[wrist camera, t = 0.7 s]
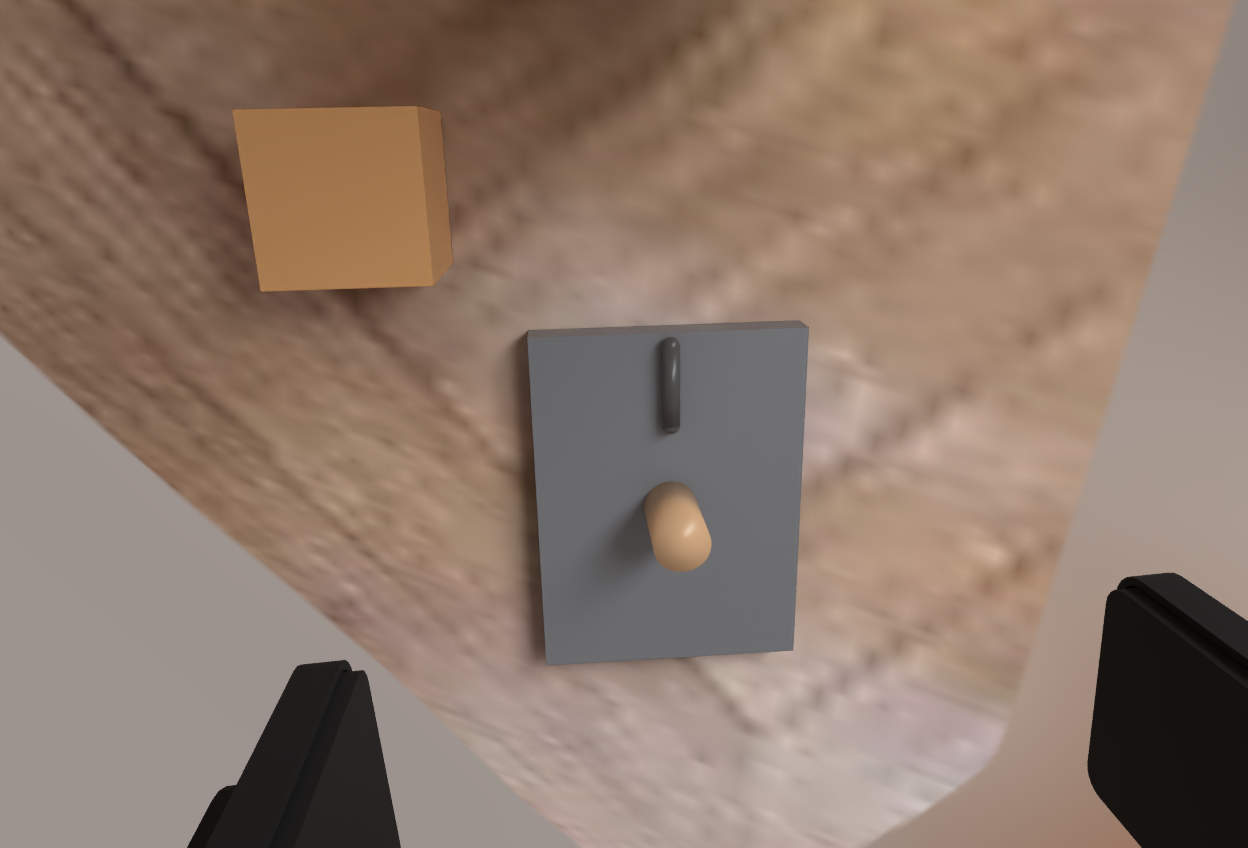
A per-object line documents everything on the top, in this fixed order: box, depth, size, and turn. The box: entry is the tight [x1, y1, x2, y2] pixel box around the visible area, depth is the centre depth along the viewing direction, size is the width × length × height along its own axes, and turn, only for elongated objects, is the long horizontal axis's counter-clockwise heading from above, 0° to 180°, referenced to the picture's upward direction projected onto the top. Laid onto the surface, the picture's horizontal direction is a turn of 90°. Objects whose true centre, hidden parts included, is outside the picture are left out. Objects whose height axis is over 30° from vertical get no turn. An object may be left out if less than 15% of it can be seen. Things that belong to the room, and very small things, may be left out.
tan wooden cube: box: [232, 106, 453, 292], centre depth 32 cm, size 6×6×6 cm
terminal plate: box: [527, 321, 809, 666], centre depth 37 cm, size 16×12×6 cm
